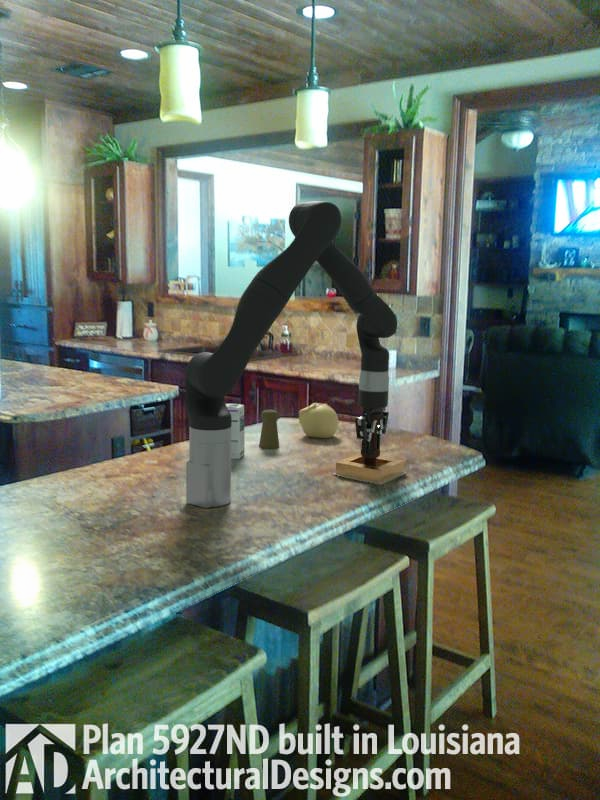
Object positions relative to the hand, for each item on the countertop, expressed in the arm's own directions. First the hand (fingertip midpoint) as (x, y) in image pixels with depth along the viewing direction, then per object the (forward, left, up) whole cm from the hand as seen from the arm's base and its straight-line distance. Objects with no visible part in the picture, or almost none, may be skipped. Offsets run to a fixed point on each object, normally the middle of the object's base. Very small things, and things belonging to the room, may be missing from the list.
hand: (370, 452), depth 186 cm
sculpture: (+28, +34, -6) cm, 44 cm away
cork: (+7, +38, -6) cm, 39 cm away
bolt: (0, 0, -5) cm, 5 cm away
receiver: (0, 0, -6) cm, 6 cm away
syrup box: (-9, +39, -6) cm, 40 cm away
